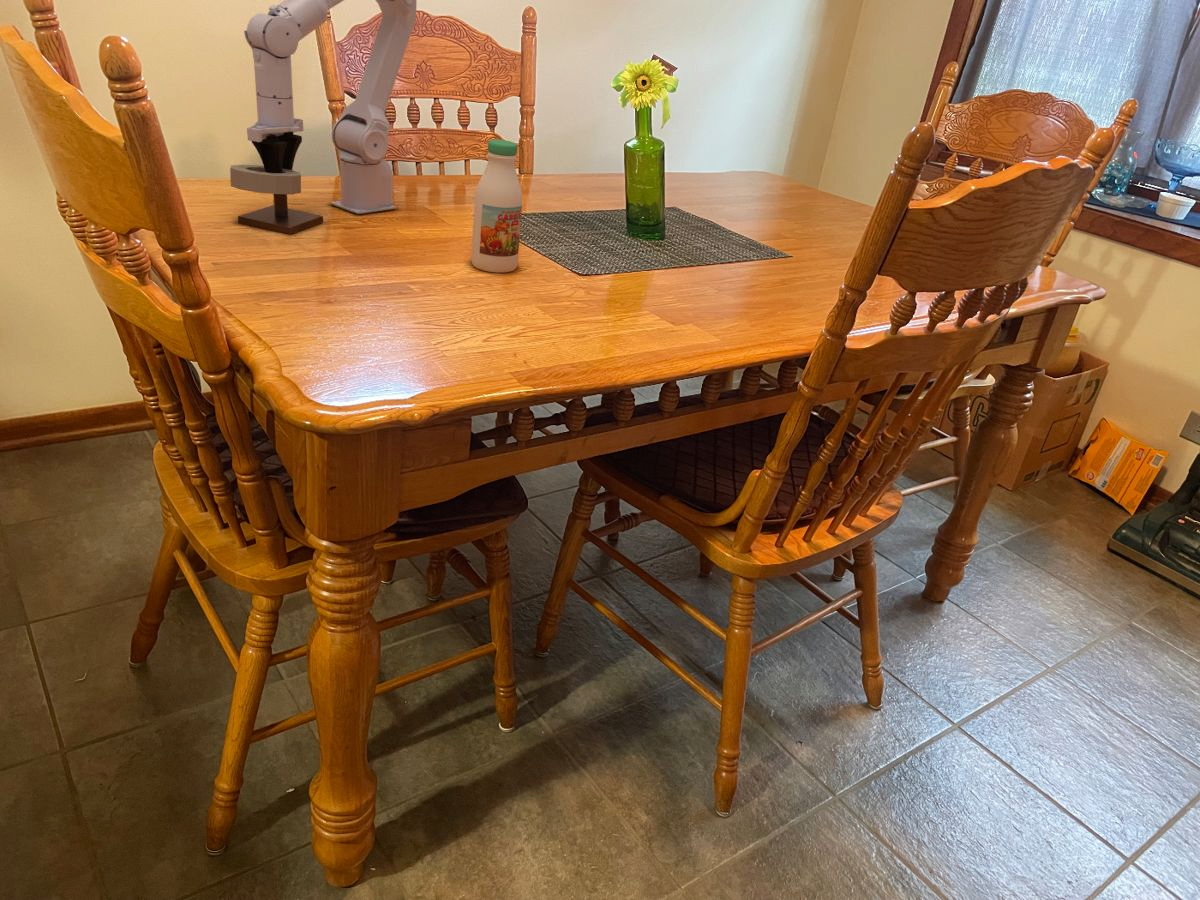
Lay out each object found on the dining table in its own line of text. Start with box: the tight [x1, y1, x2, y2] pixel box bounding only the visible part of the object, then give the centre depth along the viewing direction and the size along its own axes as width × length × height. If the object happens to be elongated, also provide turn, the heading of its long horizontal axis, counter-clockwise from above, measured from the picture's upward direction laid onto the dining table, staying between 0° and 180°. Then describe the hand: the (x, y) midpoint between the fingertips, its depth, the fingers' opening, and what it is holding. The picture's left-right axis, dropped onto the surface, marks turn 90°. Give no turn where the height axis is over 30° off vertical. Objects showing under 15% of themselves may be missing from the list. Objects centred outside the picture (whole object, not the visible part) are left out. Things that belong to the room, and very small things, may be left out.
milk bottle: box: [470, 139, 523, 273], centre depth 133 cm, size 8×8×20 cm
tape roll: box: [229, 164, 302, 195], centre depth 140 cm, size 11×11×3 cm
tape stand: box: [237, 194, 324, 235], centre depth 142 cm, size 10×10×6 cm
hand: (279, 179), depth 144 cm, fingers closed on tape roll, 3 cm apart
